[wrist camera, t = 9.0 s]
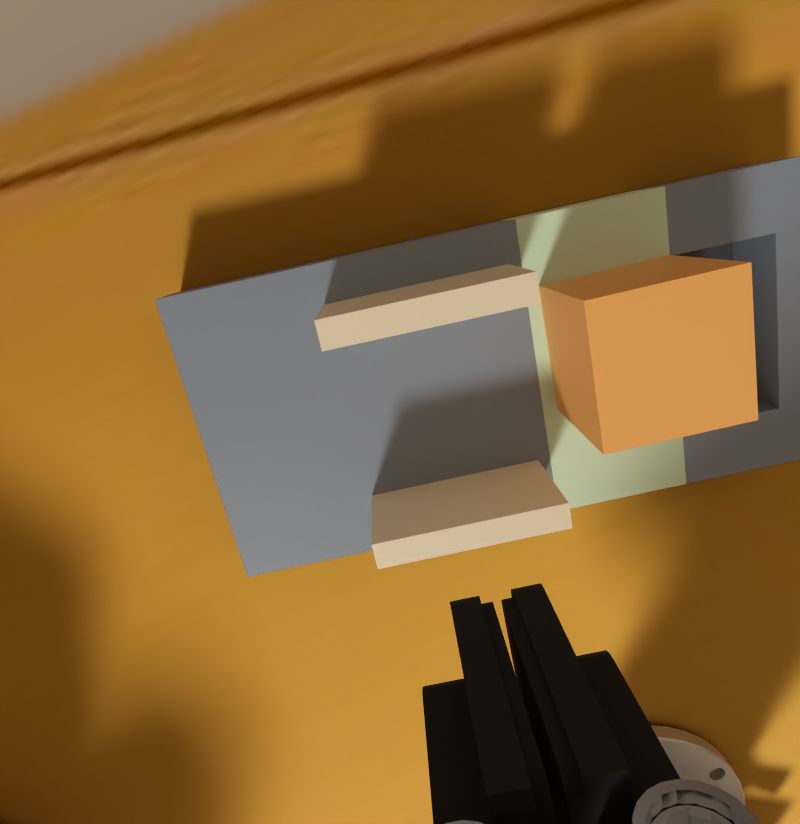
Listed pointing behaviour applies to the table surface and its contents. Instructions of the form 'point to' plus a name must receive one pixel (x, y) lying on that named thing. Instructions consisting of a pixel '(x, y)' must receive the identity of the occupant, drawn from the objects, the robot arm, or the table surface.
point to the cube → (653, 349)
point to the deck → (464, 376)
